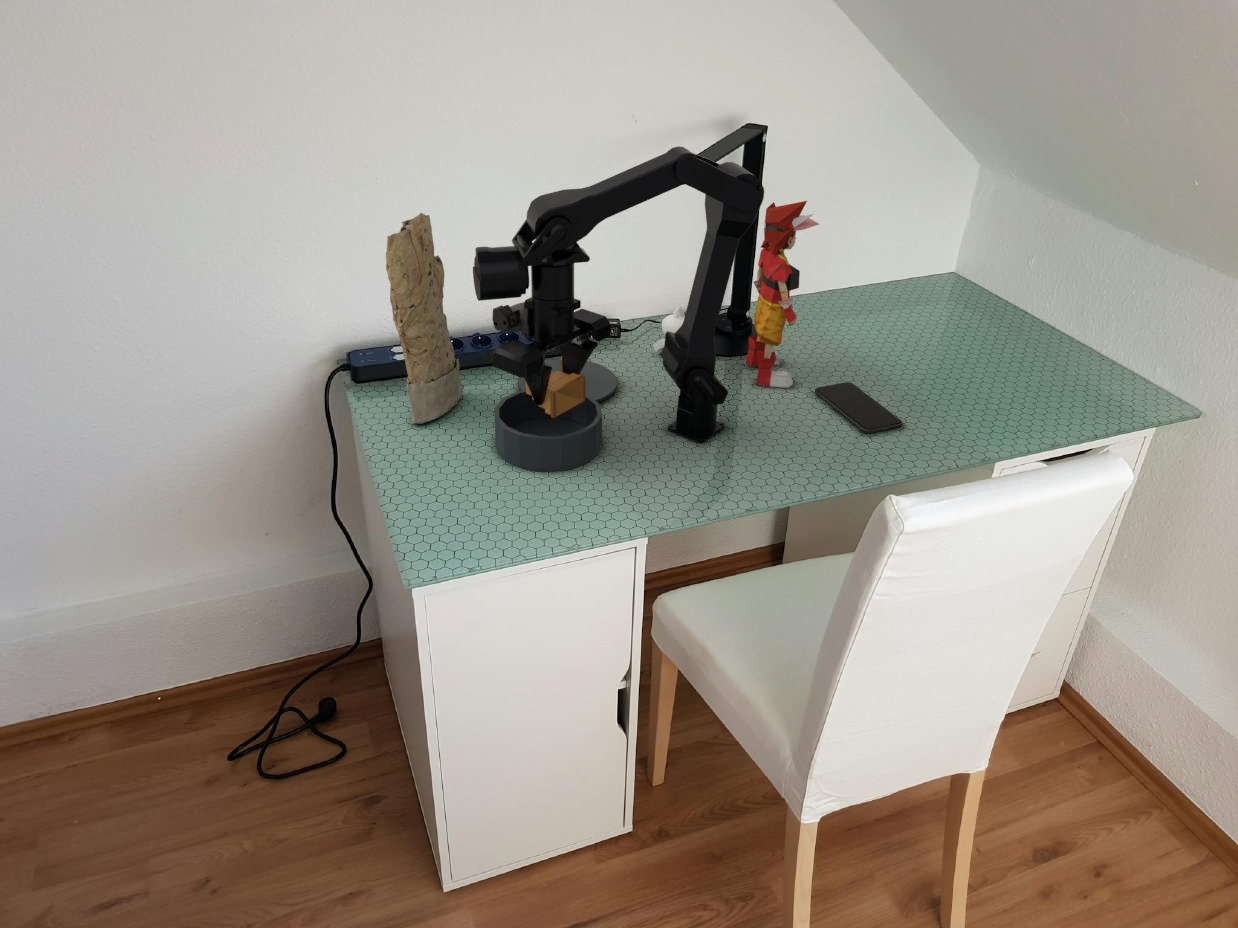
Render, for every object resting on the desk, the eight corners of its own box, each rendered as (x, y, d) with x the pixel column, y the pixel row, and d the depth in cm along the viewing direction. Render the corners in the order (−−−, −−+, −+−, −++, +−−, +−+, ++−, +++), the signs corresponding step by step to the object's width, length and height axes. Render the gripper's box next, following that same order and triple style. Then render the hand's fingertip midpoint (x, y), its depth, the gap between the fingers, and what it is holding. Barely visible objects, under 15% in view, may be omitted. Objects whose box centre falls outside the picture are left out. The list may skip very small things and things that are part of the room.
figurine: (708, 376, 165) (713, 315, 160) (684, 383, 163) (688, 321, 157) (667, 350, 174) (671, 291, 168) (644, 356, 172) (646, 296, 166)
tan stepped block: (585, 400, 141) (585, 375, 139) (553, 418, 137) (553, 392, 134) (543, 384, 145) (543, 359, 143) (511, 401, 141) (510, 375, 139)
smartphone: (904, 427, 152) (849, 385, 164) (905, 422, 152) (850, 380, 163) (864, 435, 149) (811, 392, 161) (865, 430, 149) (812, 387, 161)
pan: (544, 409, 154) (543, 377, 151) (621, 441, 146) (623, 408, 143) (473, 447, 144) (472, 413, 141) (553, 484, 136) (553, 449, 133)
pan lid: (562, 356, 170) (562, 329, 168) (636, 384, 162) (638, 356, 159) (497, 388, 159) (495, 360, 157) (573, 420, 151) (573, 390, 148)
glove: (472, 420, 150) (461, 229, 135) (404, 429, 147) (384, 234, 132) (457, 381, 161) (445, 200, 146) (393, 388, 158) (374, 205, 143)
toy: (811, 385, 163) (837, 207, 148) (764, 393, 161) (785, 212, 145) (776, 356, 173) (796, 185, 157) (730, 363, 170) (747, 190, 154)
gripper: (553, 261, 142) (554, 359, 150) (460, 297, 130) (466, 402, 138) (614, 280, 137) (611, 380, 145) (522, 320, 124) (525, 428, 132)
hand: (553, 396), depth 140 cm, fingers closed on tan stepped block, 6 cm apart
